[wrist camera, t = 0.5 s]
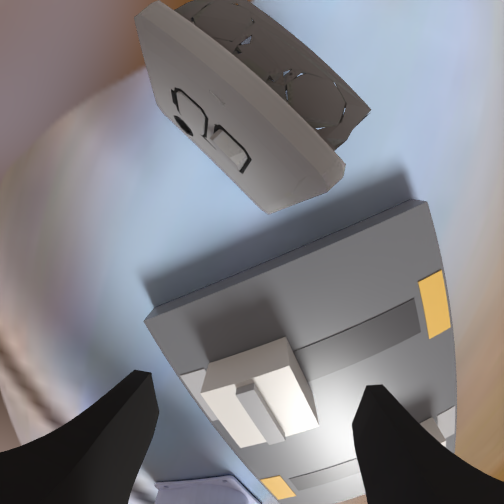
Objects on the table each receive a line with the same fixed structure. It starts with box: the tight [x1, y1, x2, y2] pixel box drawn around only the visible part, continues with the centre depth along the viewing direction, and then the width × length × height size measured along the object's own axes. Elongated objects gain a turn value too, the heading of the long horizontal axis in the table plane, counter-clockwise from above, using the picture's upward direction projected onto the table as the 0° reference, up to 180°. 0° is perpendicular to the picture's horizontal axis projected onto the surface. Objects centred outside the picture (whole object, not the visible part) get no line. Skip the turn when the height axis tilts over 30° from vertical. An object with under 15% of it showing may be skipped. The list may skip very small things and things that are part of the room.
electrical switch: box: [134, 0, 371, 214], centre depth 12 cm, size 9×5×9 cm, turn 44°
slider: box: [200, 337, 319, 448], centre depth 16 cm, size 5×5×4 cm
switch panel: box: [144, 199, 457, 504], centre depth 20 cm, size 18×26×2 cm
